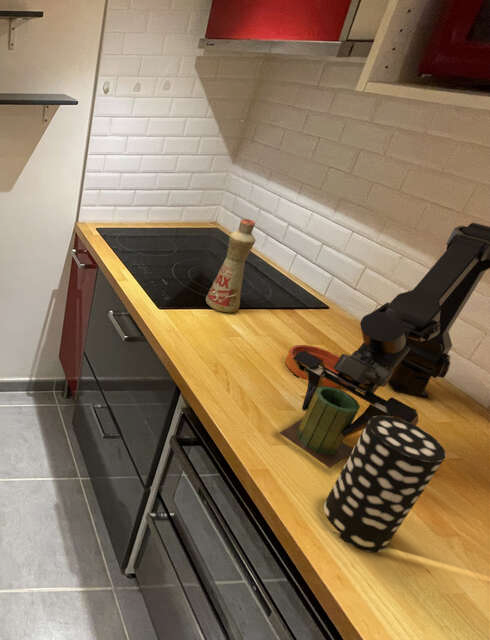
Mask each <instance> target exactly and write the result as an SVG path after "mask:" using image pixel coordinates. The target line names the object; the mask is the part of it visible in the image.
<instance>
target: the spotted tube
mask: <svg viewBox="0 0 490 640" xmlns="http://www.w3.org/2000/svg"><path fill="white" fill-rule="evenodd" d="M446 457H447V453H446V450H445V448H444V447H443V445H442V444H441V443H440V442H439V441H438V440H437V439H436V438H435V437H434V436H432V435H431V434H430V433H428V432H427V431H425V430H424V429H422V428H420V427H419V426H417V425H416V426H415V425H413V424H411V423H408V422H406V421H404V420H401V419H398V418H394V417H390V416H379V415H378V416H373V417H371V418H370V419H369V421H368V423H367V425H366V426H365V428H364V429H362V432H361V434H360V436H359V438H358V439H357V440H356V443H355V445H354V447H353V451H352V453H350V454H349V455H348V458H347V460H346V462H345V463H344V466H343V468H342V469H341V471H340V473H339V475H338V477H337V479H336V480H335V482H334V484H333V486H332V488H331V490H330V492H329V494H328V495H327V497H326V499H325V501H324V503H323V513H324V515H325V517H326V519H327V520H328V521H329V523H330V525H331V526H333V528H334V529H335V530H336V531H333V533H334V534H335V535H336V536H337V537H339V538H340V540H342V541H344V542H345V543H346V544H348V545H350V546H352V547H354V548H356V549H358V550H361V551H364V552H369V553H382V552H383V551H385V549H386V548H387V546H388V545H389V543H390V541H391V540H392V539H393V538H394V536H395V534H396V533H397V531H398V530H399V528H400V527H401V525H402V524H403V522H404V521H405V519H406V518H407V516H408V515H409V513H410V512H411V510H412V509H413V507H414V506H415V504H416V503H417V501H418V499H419V498H420V497H421V495H422V494H423V493H424V490H425V489H426V487H427V486H428V484H429V483H430V482H431V480H432V479H433V477H434V475H435V474H436V472H437V471H438V470H439V468H440V467H441V465H442V464H443V462H444V460H445V459H446ZM337 531H338V532H337Z"/></svg>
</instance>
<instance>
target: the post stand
mask: <svg viewBox="0 0 490 640" xmlns="http://www.w3.org/2000/svg"><path fill="white" fill-rule="evenodd" d="M302 419H303V418H301V419H299V420H298V421H296V422H295V423H293V424H291V425H290V426H288V427H286V428H285V429H283V430H281V431H280V432H279V434H280V435H281V436H283V437H284V438H286V439H287V440H288V441H290V442H291V443H293V444H295V445H296V446H297V447H299V448H300V449H301V450H303V451H304V452H306V453H307V454H309V455H310V456H312V457H313V458H314V459H316V460H317V461H319V462H320V463H321V464H323V465H324V466H326V467H327V468H328V469H331V468H333V467H335V465H337V464H338V463H340V462H342V460H343V459H345V458H347V456H348V457H349V456H350V454H351V453H352V451H353V449H354V447H353V448H352V447H351V446H349V445H348V444H346V443H345V442H343V441H342V443H341V445H340V447H339V449H338V450H337V452H336V454H333V455H324V454H320V453H318V452H315V451H313V450H311V449H309V448H308V446H307V447H306V446H305V445H304V444H303V443H302V442H301V441H300V440H299V439H298V436H297V434H296V432H297V430H298V428H299V426H300V424H301V421H302Z"/></svg>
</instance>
